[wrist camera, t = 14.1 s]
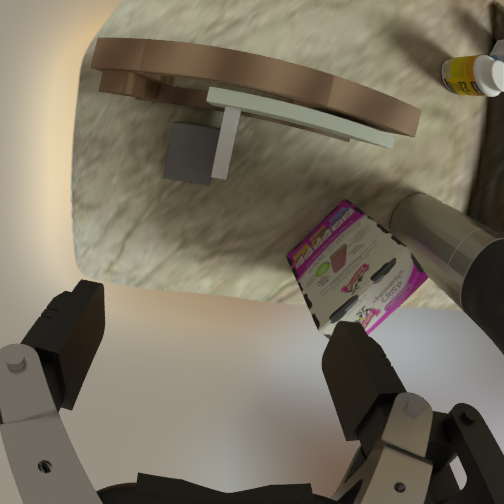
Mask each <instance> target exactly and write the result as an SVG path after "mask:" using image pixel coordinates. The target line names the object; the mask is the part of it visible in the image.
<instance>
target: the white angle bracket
mask: <svg viewBox="0 0 504 504" xmlns="http://www.w3.org/2000/svg"><path fill="white" fill-rule="evenodd" d="M206 101H207V102H208V103H209V104H211V105H212V106H215V107H221V108H225V112H224V116H223V121H222V126H221V130H220V135H219V140H218V145H217V150H216V154H215V159H214V165H213V170H212V175H211V177H213V178H219V179H224V180H226V179H227V174H228V169H229V164H230V160H231V155H232V150H233V145H234V141H235V136H236V132H237V127H238V123H239V118H240V114H241V111H242V112H247V113H252V114H257V115H261V116H266V117H270V118H274V119H279V120H283V121H287V122H291V123H295V124H299V125H303V126H307V127H310V128H314V129H318V130H321V131H325V132H328V133H332V134H335V135H339V136H342V137H345V138H350V139H354V140H358V141H362V142H366V143H370V144H374V145H378V146H382V147H385V148H389V149H392V147H393V143H394V139H395V136H392V135H390V134H387V133H384V132H382V131H379V130H376V129H373V128H370V127H368V126H365V125H362V124H359V123H356V122H353V121H350V120H347V119H343V118H340V117H337V116H334V115H330V114H327V113H324V112H320V111H317V110H313V109H310V108H306V107H302V106H299V105H295V104H291V103H287V102H283V101H279V100H274V99H270V98H266V97H261V96H257V95H252V94H247V93H242V92H237V91H232V90H227V89H221V88H216V87H209V91H208V96H207V100H206Z"/></svg>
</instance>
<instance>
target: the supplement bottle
mask: <svg viewBox="0 0 504 504" xmlns="http://www.w3.org/2000/svg"><path fill="white" fill-rule="evenodd" d="M441 72H442V79H443V82H444V84H445V85H446V87H447V88H448V89H449V90H450V91H451V92H452V93H454V94H458V95H475V96H489V97H494V96H497V95H498V94H499V93H500V92H501V91H504V63H503V62H501V61H499V60H494V59H493V58H491V57H490V56H487V55H477V56H466V57H457V58H450V59H447V60H446V61H445V62H444V64H443V66H442V71H441Z"/></svg>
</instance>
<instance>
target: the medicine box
mask: <svg viewBox="0 0 504 504" xmlns="http://www.w3.org/2000/svg"><path fill="white" fill-rule="evenodd" d="M490 57H491V58H493V59H494V60H499V61H501V62H503V63H504V40H498V41H497V42H496V44H495V46H494V48H493V50H492V51H491V53H490Z"/></svg>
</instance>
